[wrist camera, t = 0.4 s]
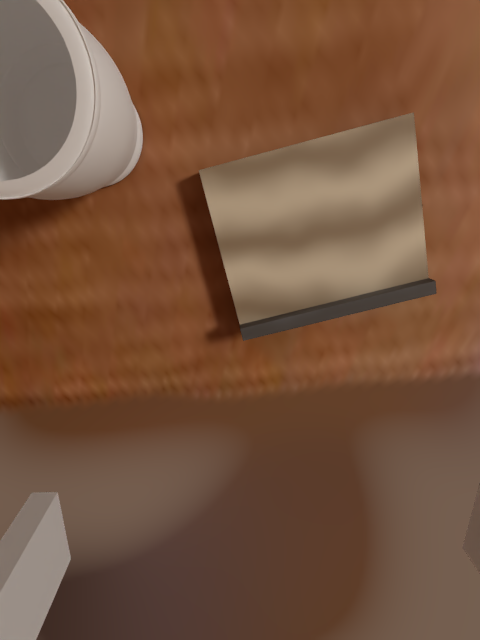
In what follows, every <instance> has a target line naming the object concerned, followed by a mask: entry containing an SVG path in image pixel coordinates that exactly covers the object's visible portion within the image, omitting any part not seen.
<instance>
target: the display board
mask: <svg viewBox="0 0 480 640" xmlns="http://www.w3.org/2000/svg"><path fill="white" fill-rule="evenodd" d="M199 173H200V177H201V181H202V185H203V188H204V192H205V196H206V200H207V203H208V207H209V211H210V215H211V218H212V222H213V226H214V230H215V234H216V237H217V241H218V245H219V249H220V252H221V256H222V260H223V264H224V267H225V271H226V275H227V279H228V282H229V286H230V290H231V294H232V297H233V301H234V305H235V309H236V313H237V316H238V320H239V324H240V330H241V334H242V338H243V341H244V340H248V339H252V338H256V337H260V336H264V335H268V334H273V333H277V332H281V331H285V330H289V329H293V328H297V327H301V326H305V325H309V324H313V323H318V322H322V321H326V320H330V319H334V318H338V317H342V316H346V315H350V314H354V313H358V312H363V311H367V310H371V309H375V308H379V307H383V306H387V305H391V304H395V303H399V302H403V301H408V300H412V299H416V298H420V297H424V296H428V295H432V294H436V282H435V280H432V279H430V278H428V267H427V256H426V245H425V234H424V223H423V211H422V200H421V189H420V178H419V167H418V155H417V144H416V133H415V122H414V113H410V114H406V115H403V116H399V117H395V118H392V119H388V120H384V121H380V122H377V123H373V124H369V125H366V126H362V127H358V128H354V129H351V130H347V131H343V132H340V133H336V134H332V135H328V136H325V137H321V138H317V139H314V140H310V141H306V142H302V143H299V144H295V145H291V146H288V147H284V148H280V149H276V150H273V151H269V152H265V153H262V154H258V155H254V156H251V157H247V158H243V159H239V160H236V161H232V162H228V163H225V164H221V165H217V166H213V167H210V168H206V169H202V170H199Z"/></svg>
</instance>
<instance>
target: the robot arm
mask: <svg viewBox="0 0 480 640" xmlns="http://www.w3.org/2000/svg"><path fill="white" fill-rule="evenodd" d="M463 549H464V550H465V552H466V554H467V555H468V557H469V558H470V560H471V561H472V563H473V564H474V566H475V567H476V569H477V570H478V572H479V573H480V483H479V487H478V491H477V495H476V499H475V502H474V506H473V510H472V514H471V518H470V521H469V525H468V529H467V533H466V537H465V540H464V544H463ZM70 559H71V557H70V552H69V547H68V543H67V537H66V532H65V527H64V522H63V517H62V512H61V508H60V502H59V497H58V493H57V492H39V493H31V495H30V496H29V498H28V499H27V501H26V502H25V504H24V506H23V507H22V509H21V510H20V512H19V513H18V515H17V516H16V518H15V519H14V521H13V522H12V524H11V525H10V527H9V529H8V530H7V532H6V533H5V534H4V536H3V538H2V539H1V541H0V640H36V638H37V636H38V634H39V631H40V629H41V627H42V624H43V622H44V620H45V618H46V615H47V613H48V610H49V608H50V606H51V604H52V601H53V599H54V597H55V594H56V592H57V590H58V587H59V585H60V583H61V580H62V578H63V576H64V573H65V571H66V569H67V566H68V564H69V562H70Z"/></svg>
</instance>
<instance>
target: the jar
mask: <svg viewBox="0 0 480 640" xmlns="http://www.w3.org/2000/svg"><path fill="white" fill-rule="evenodd" d="M142 143H143V133H142V126H141V122H140V118H139V116H138V113H137V111H136V109H135V107H134V105H133V103H132V101H131V98H130V95H129V92H128V89H127V87H126V84H125V82H124V80H123V77H122V75H121V74H120V72H119V70H118V68H117V66H116V65H115V63H114V62H113V60H112V58H111V57H110V56H109V54H108V53H107V51H106V50H105V49H104V48H103V46H102V45H101V44H100V43H99V42H98V41H97V39H96V38H95V37H94V36H93V35H92V34H91V33H90V32H89V31H88V30H87V29H86V28H85V27H83V26H82V25H81V24H80V23H79V22H78V20H77V19H76V17H75V16H74V14H73V13H72V11H71V10H70V8H69V7H68V6H67V5H66V3H65V2H64V1H63V0H0V199H20V198H27V197H29V198H35V199H45V200H62V199H70V198H76V197H80V196H84V195H87V194H89V193H92V192H94V191H96V190H98V189H100V188H102V187H106V186H110V185H113V184H115V183H117V182H119V181H121V180H122V179H124V178H125V177H126V176H127V175H128V174H129V173H130V172H131V171H132V170H133V168H134V167H135V165H136V163H137V161H138V159H139V157H140V154H141V150H142Z"/></svg>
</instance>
